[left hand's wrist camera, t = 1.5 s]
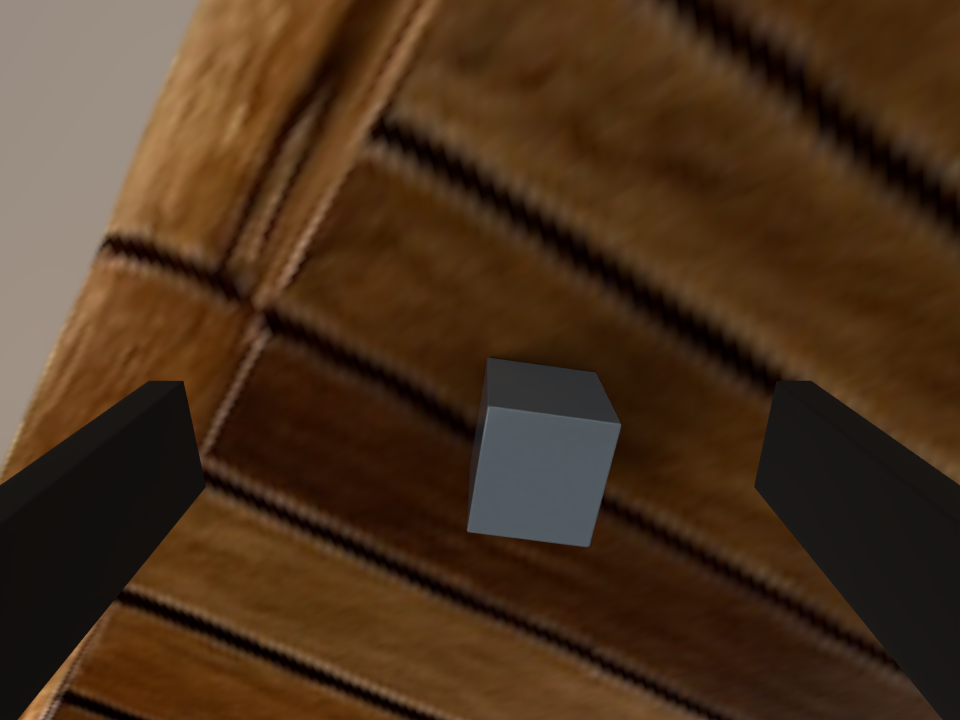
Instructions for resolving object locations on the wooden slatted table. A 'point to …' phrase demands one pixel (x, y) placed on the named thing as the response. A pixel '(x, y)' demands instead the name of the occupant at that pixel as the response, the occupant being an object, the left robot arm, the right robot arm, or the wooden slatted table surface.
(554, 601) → the wooden slatted table surface
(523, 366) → the block
